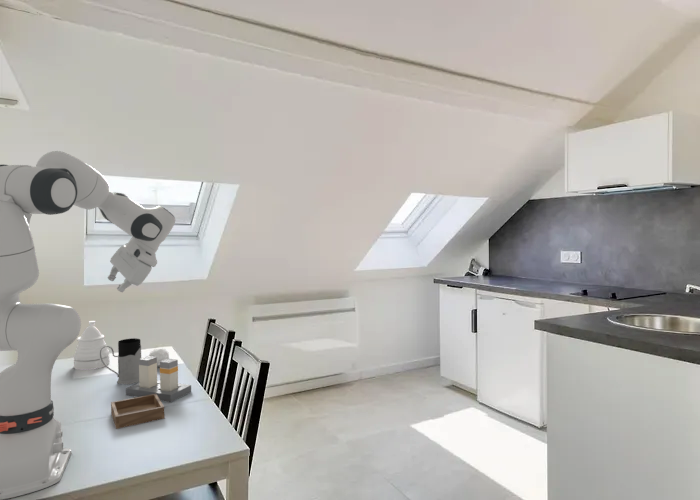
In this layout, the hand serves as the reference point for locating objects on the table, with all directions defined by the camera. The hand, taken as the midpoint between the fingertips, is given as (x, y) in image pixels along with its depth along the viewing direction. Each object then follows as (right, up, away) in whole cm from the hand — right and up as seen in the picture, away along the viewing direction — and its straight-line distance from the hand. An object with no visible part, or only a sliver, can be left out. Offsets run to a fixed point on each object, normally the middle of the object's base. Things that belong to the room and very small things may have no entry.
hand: (114, 285), depth 149 cm
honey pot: (-30, -37, +39) cm, 61 cm away
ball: (-1, -37, +37) cm, 52 cm away
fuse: (+8, -38, +8) cm, 39 cm away
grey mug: (-7, -37, +19) cm, 43 cm away
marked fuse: (+16, -38, +5) cm, 42 cm away
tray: (+13, -39, -12) cm, 43 cm away
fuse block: (+12, -38, +6) cm, 40 cm away
